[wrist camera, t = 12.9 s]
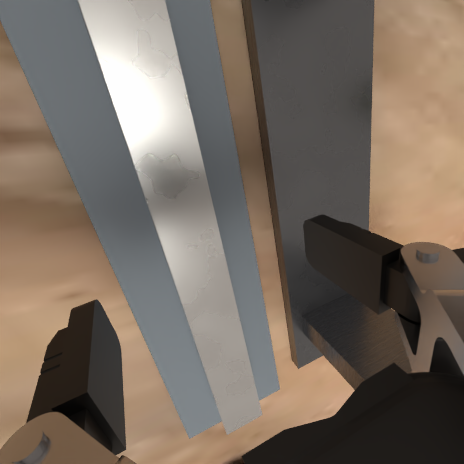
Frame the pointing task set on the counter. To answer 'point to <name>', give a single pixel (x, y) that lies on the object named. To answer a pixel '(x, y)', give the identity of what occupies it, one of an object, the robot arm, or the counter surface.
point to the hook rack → (319, 167)
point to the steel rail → (174, 187)
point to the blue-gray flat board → (130, 192)
